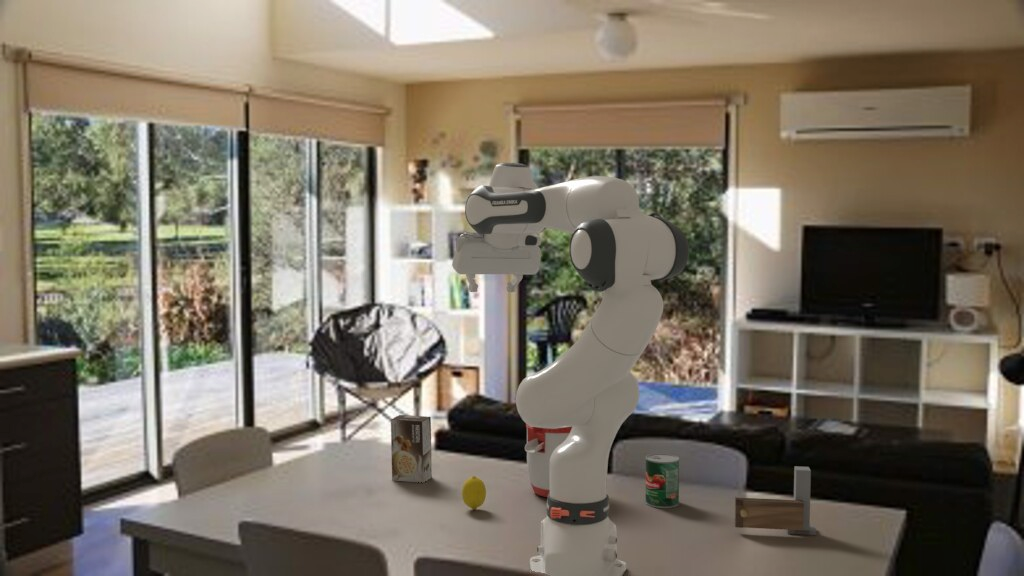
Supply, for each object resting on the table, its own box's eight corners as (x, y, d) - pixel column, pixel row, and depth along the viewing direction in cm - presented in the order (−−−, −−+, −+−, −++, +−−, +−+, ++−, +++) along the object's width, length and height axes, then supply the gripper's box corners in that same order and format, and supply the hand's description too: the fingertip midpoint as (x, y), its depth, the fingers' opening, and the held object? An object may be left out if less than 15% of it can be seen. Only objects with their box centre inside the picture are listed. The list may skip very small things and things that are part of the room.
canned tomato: (683, 501, 230) (684, 456, 229) (671, 510, 223) (672, 463, 222) (652, 496, 234) (653, 451, 233) (639, 505, 227) (640, 459, 226)
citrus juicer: (507, 493, 237) (507, 412, 235) (557, 480, 248) (558, 403, 246) (551, 507, 225) (551, 423, 223) (602, 493, 236) (603, 413, 235)
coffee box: (433, 477, 251) (432, 416, 250) (423, 483, 245) (423, 421, 244) (400, 474, 254) (399, 414, 252) (390, 480, 248) (389, 419, 246)
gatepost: (816, 535, 206) (818, 470, 205) (787, 533, 207) (789, 469, 205) (813, 529, 210) (815, 465, 208) (785, 527, 211) (786, 464, 209)
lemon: (482, 514, 220) (482, 480, 219) (459, 512, 221) (459, 478, 221) (488, 507, 226) (488, 473, 225) (465, 505, 227) (465, 472, 226)
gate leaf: (804, 533, 202) (804, 505, 202) (735, 529, 205) (736, 502, 204) (801, 528, 206) (802, 500, 205) (734, 524, 208) (735, 497, 208)
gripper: (463, 237, 206) (454, 296, 210) (548, 239, 214) (537, 296, 219) (452, 227, 211) (444, 285, 216) (536, 229, 220) (526, 285, 225)
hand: (491, 291), depth 218 cm, fingers open, 8 cm apart
